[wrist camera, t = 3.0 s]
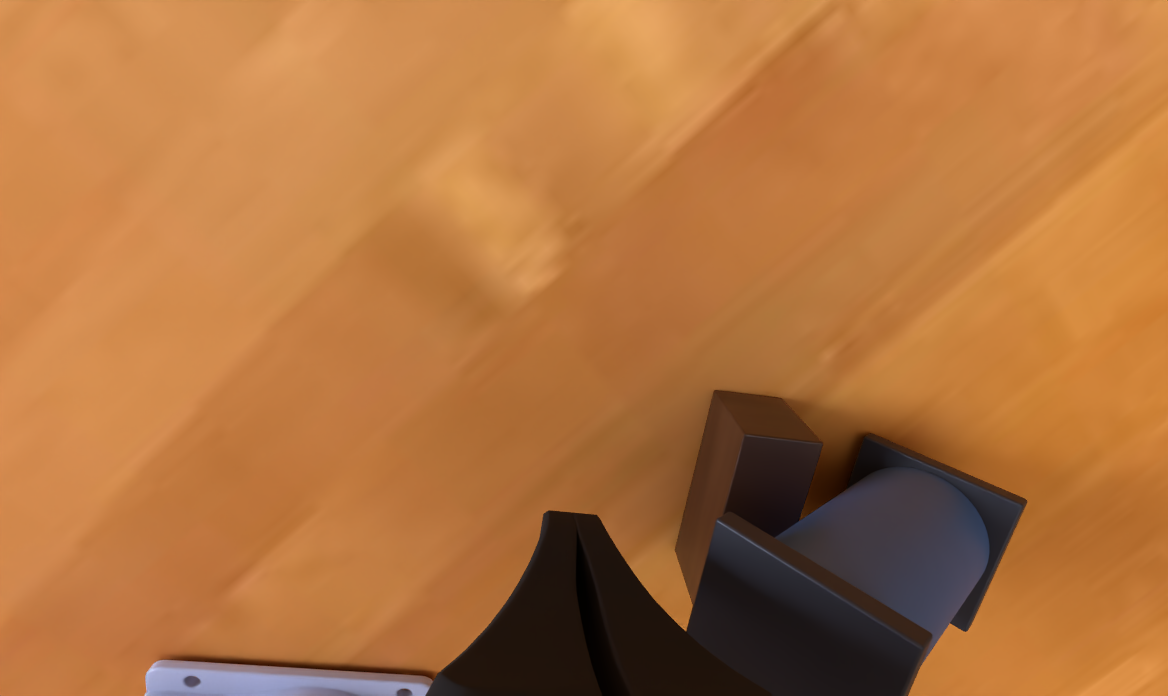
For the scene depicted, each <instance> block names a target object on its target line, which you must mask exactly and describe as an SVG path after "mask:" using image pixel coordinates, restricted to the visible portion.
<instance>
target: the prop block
mask: <svg viewBox="0 0 1168 696" xmlns="http://www.w3.org/2000/svg"><path fill="white" fill-rule="evenodd" d="M822 446H823V442H822V441H821V440H820V439H819V438H818V437H817V436H816V435H815V434H814V433H813V432H812V430H811V429H810V428H809V427H808V426H807V425H806V424H805V423H804V422H803V421H802V420H801V419H800V418H799V416H798V415H797V414H796V413H795V412H794V411H793V410H792V409H791V408H790V407H789V406H788V405H787V404H786V402H785V401H784V400H783V399H781V398H774V397H766V396H758V395H750V394H742V393H733V392H725V391H717V390H715V391H714V393H713V397H712V401H711V405H710V410H709V414H708V418H707V422H706V426H705V430H704V434H703V438H702V442H701V446H700V450H699V454H698V458H697V462H696V466H695V470H694V474H693V479H692V483H691V487H690V491H689V495H688V499H687V503H686V507H685V511H684V515H683V519H682V523H681V527H680V531H679V535H678V539H677V543H676V548H675V552H676V555H677V558H678V561H679V564H680V567H681V570H682V573H683V576H684V580H685V583H686V586H687V589H688V592H689V595H690V598H691V601H692V604H694V601H695V597H696V593H697V589H698V586H699V582H700V578H701V574H702V571H703V567H704V563H705V559H706V556H707V552H708V548H709V544H710V541H711V537H712V533H713V530H714V526H715V522H716V519H717V518H718V517H720V516H722V515H724V514H726V513H728V512H732V513H734V514H736V515H737V516H739V517H741V518H742V519H744V520H746V521H747V522H749V523H751V524H752V525H754V526H756V527H757V528H759V529H761V530H762V531H764V532H766V533H767V534H769V535H770V536H772V537H774V538H775V537H776V536H778V535H779V534H781V533H782V532H784V531H785V530H787V529H788V528H790V527H791V526H793V525H794V524H796V523H797V522H799V518H800V515H801V512H802V509H803V506H804V503H805V500H806V496H807V493H808V490H809V487H810V484H811V481H812V478H813V475H814V471H815V468H816V465H817V462H818V459H819V456H820V453H821V449H822Z"/></svg>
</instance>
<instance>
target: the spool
mask: <svg viewBox="0 0 1168 696" xmlns="http://www.w3.org/2000/svg"><path fill="white" fill-rule="evenodd" d="M1026 504H1027V500H1026V499H1024V498H1022V497H1020V496H1017V495H1015V494H1013V493H1010V492H1008V491H1006V490H1003V489H1001V488H999V487H996V486H994V485H992V484H989V483H987V482H985V481H982V480H980V479H978V478H975V477H973V476H971V475H968V474H966V473H964V472H961V471H959V470H957V469H954V468H952V467H950V466H947V465H945V464H943V463H940V462H938V461H936V460H933V459H931V458H929V457H926V456H924V455H922V454H919V453H917V452H915V451H912V450H910V449H908V448H905V447H903V446H900V445H898V444H896V443H893V442H891V441H889V440H886V439H884V438H882V437H879V436H877V435H875V434H872V433H870V434H868V435H867V436H865V437H864V439H863V442H862V445H861V448H860V450H859V453H858V456H857V459H856V462H855V465H854V468H853V471H852V474H851V477H850V480H849V483H848V486H847V489H846V490H845V491H843V492H842V493H840V494H839V495H837V496H836V497H834V498H833V499H831V500H830V501H828V502H827V503H826V504H824V505H823V506H821V507H820V508H818V509H817V510H815V511H814V512H812V513H811V514H809V515H808V516H806V517H805V518H803V519H802V520H800V521H799V522H797V523H796V524H794V525H793V526H791V527H790V528H788V529H787V530H785V531H784V532H782V533H781V534H779V535H778V536H776V537H775V538H774V537H772V536H770V535H769V534H767V533H766V532H764V531H762V530H761V529H759V528H757V527H756V526H754V525H752V524H751V523H749V522H747V521H746V520H744V519H742V518H741V517H739V516H737V515H736V514H734V513H732V512H728V513H726V514H724V515H722V516H720V517H718V518H717V519H716V522H715V526H714V530H713V533H712V537H711V541H710V544H709V548H708V552H707V556H706V559H705V563H704V567H703V571H702V574H701V578H700V582H699V586H698V589H697V593H696V597H695V601H694V604H693V608H692V612H691V616H690V619H689V623H688V627H687V631H686V632H687V633H688V634H689V635H690V636H691V637H692V638H694V639H695V640H696V641H697V642H698V643H699V644H700V645H702V646H703V647H704V648H705V649H707V650H708V651H709V652H710V653H712V654H713V655H714V656H716V657H717V658H718V659H720V660H721V661H722V662H724V663H725V664H727V665H728V666H729V667H731V668H732V669H733V670H735V671H736V672H738V673H739V674H741V675H743V676H744V677H746V678H748V679H749V680H751V681H752V682H754V683H756V684H757V685H759V686H760V687H762V688H764V689H765V690H767V691H769V692H770V693H772V695H773V696H908V694H909V692H910V689H911V687H912V685H913V683H914V680H915V678H916V676H917V673H918V671H919V669H920V666H921V665H922V663H923V662H924V660H925V659H926V657H927V656H928V654H929V653H930V651H931V650H932V649H933V647H934V646H935V644H936V643H937V641H938V640H939V638H940V637H941V635H942V634H943V632H944V631H945V629H946V628H947V626H948V625H949V623H951V624H952V625H954V626H956V627H957V628H959V629H961V630H963V631H965V632H966V631H968V629H969V628H970V626H971V624H972V622H973V620H974V618H975V616H976V614H977V611H978V609H979V607H980V605H981V603H982V600H983V598H984V596H985V594H986V592H987V589H988V587H989V585H990V583H991V581H992V578H993V576H994V574H995V572H996V570H997V567H998V565H999V563H1000V561H1001V559H1002V556H1003V554H1004V552H1005V550H1006V548H1007V546H1008V543H1009V541H1010V539H1011V537H1012V535H1013V532H1014V530H1015V528H1016V526H1017V524H1018V521H1019V519H1020V517H1021V515H1022V513H1023V510H1024V508H1025V506H1026Z"/></svg>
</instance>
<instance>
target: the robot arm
mask: <svg viewBox="0 0 1168 696" xmlns="http://www.w3.org/2000/svg"><path fill="white" fill-rule="evenodd" d="M194 676H195V677H194ZM146 688H147V693H146V694H145V695H144V696H773V695H772V693H770V692H769V691H767V690H765V689H764V688H762V687H760V686H759V685H757V684H756V683H754V682H752V681H751V680H749V679H748V678H746V677H744V676H743V675H741V674H739V673H738V672H736V671H735V670H733V669H732V668H731V667H729V666H728V665H727V664H725V663H724V662H722V661H721V660H720V659H718V658H717V657H716V656H714V655H713V654H712V653H710V652H709V651H708V650H707V649H705V648H704V647H703V646H702V645H700V644H699V643H698V642H697V641H696V640H695V639H694V638H692V637H691V636H690V635H689V634H688V633H687V632H686V631H684V630H683V629H682V628H681V627H680V626H679V625H678V624H677V623H676V622H675V621H674V620H673V619H672V618H671V617H670V616H669V615H668V614H667V613H666V612H665V611H664V610H663V609H662V608H661V606H660V605H659V604H658V603H657V602H656V601H655V600H654V599H653V598H652V596H651V595H650V594H649V593H648V591H647V590H646V589H645V588H644V586H643V585H642V584H641V582H640V581H639V580H638V578H637V577H636V576H635V574H634V573H633V571H632V570H631V569H630V567H629V566H628V564H627V563H626V561H625V560H624V558H623V557H622V555H621V554H620V552H619V551H618V549H617V547H616V546H615V544H614V543H613V541H612V539H611V538H610V536H609V534H608V532H607V531H606V529H605V527H604V525H603V524H602V522H601V520H600V519H599V517H598V516H597V515H591V514H581V513H571V512H560V511H550V510H549V511H547V512H546V513H544V514H543V521H542V527H541V533H540V538H539V541H538V544H537V546H536V549H535V551H534V553H533V556H532V558H531V560H530V562H529V564H528V566H527V568H526V570H525V572H524V574H523V576H522V577H521V579H520V581H519V583H518V585H517V586H516V588H515V590H514V591H513V593H512V594H511V596H510V597H509V599H508V600H507V602H506V603H505V605H504V606H503V607H502V609H501V610H500V611H499V613H498V614H497V615H496V617H495V618H494V619H493V620H492V622H491V623H490V624H489V625H488V627H487V628H486V629H485V630H484V631H483V632H482V633H481V634H480V635H479V636H478V637H477V638H476V639H475V641H474V642H473V643H472V644H471V645H470V646H469V647H468V648H467V649H466V650H465V651H464V652H463V653H462V654H461V655H460V656H458V657H457V658H456V659H455V660H454V661H452V662H451V663H450V664H449V665H448V666H446V667H445V668H444V669H443V670H442V671H441V672H439V673H438V674H437V676H436V678H435V679H434V681H432V679H430V678H428V677H426V676H419V675H403V674H387V673H371V672H355V671H339V670H323V669H307V668H291V667H275V666H259V665H243V664H227V663H211V662H195V661H179V660H159V661H157V662H155V663H154V664H153V665H152V666H151V668H150V669H149V670H148V672H147V673H146ZM404 688H405V689H409V690H404Z"/></svg>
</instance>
